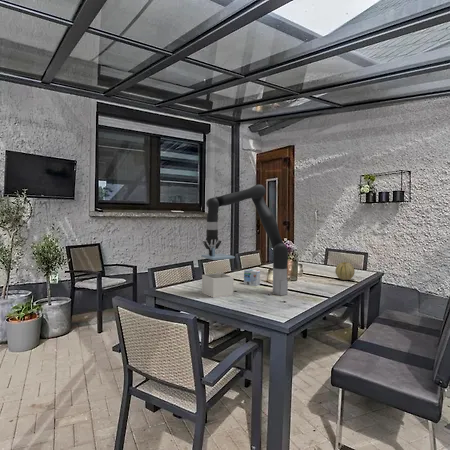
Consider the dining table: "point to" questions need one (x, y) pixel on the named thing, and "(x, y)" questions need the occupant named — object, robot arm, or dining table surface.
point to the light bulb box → (252, 277)
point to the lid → (217, 256)
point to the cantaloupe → (344, 271)
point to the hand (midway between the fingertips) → (211, 255)
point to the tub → (217, 285)
